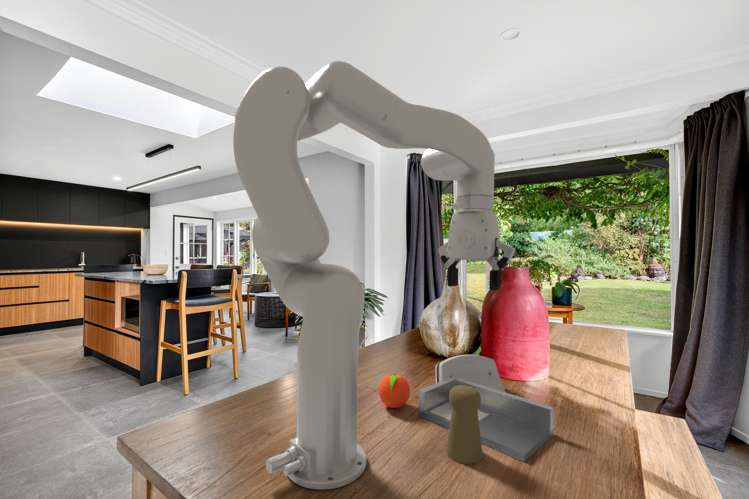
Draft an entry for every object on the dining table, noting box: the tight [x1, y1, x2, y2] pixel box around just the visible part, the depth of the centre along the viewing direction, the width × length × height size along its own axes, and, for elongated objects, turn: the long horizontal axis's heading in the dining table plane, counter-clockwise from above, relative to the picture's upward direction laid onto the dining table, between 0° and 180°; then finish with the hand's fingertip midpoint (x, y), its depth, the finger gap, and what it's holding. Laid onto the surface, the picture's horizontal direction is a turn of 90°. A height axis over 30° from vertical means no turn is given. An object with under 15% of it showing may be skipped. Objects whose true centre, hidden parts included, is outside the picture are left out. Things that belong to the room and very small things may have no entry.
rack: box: [417, 376, 555, 463], centre depth 70 cm, size 13×22×5 cm, turn 44°
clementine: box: [378, 373, 411, 409], centre depth 77 cm, size 8×7×7 cm
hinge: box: [435, 354, 506, 393], centre depth 87 cm, size 17×5×10 cm, turn 106°
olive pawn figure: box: [445, 385, 484, 465], centre depth 60 cm, size 6×6×11 cm
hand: (472, 287), depth 75 cm, fingers open, 9 cm apart
